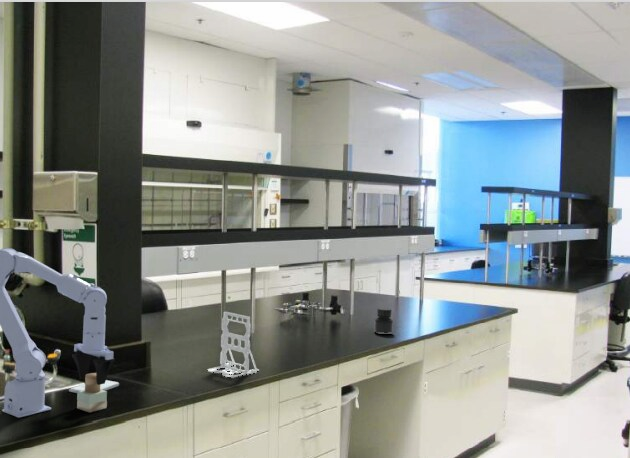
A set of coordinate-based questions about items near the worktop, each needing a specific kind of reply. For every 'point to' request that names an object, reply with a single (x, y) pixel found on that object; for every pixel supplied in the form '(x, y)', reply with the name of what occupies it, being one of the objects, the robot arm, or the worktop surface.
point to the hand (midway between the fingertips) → (92, 381)
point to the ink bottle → (383, 320)
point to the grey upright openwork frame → (234, 348)
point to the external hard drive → (103, 386)
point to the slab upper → (91, 396)
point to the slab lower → (91, 406)
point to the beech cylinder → (91, 383)
